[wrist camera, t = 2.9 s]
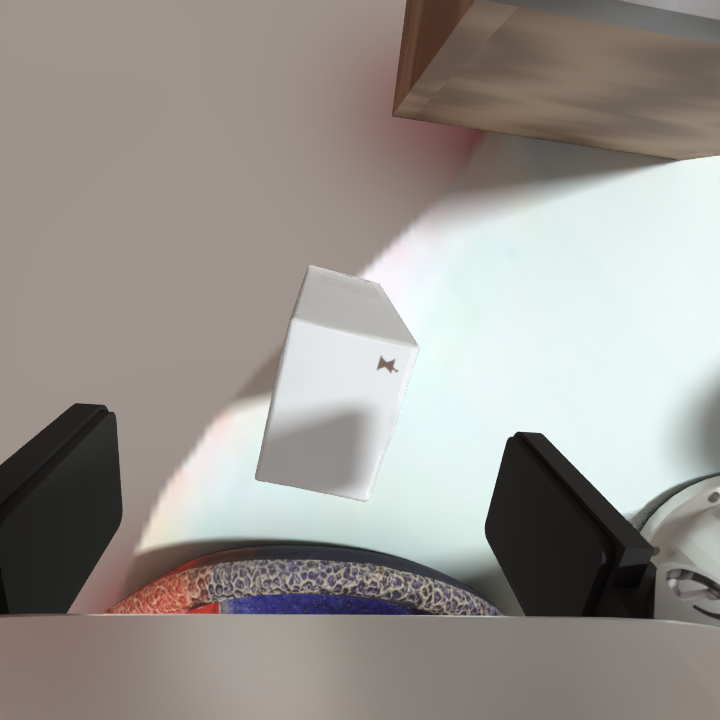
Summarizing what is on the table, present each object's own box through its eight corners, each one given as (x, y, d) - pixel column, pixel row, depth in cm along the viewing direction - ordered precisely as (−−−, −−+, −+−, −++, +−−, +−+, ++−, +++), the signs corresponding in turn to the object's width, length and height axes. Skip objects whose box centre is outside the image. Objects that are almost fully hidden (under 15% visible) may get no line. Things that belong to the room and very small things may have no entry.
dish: (477, 696, 37) (500, 768, 32) (93, 667, 33) (54, 744, 28) (539, 551, 32) (576, 609, 28) (100, 494, 28) (54, 552, 23)
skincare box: (306, 262, 24) (289, 310, 13) (380, 282, 25) (427, 344, 13) (283, 363, 26) (250, 484, 14) (352, 379, 26) (373, 507, 15)
